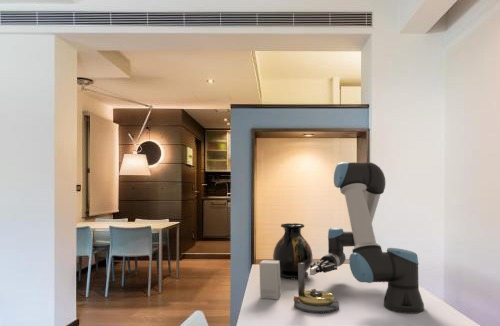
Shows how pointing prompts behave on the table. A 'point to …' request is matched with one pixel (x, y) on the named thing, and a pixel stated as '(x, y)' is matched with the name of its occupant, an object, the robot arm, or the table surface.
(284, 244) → the black vase
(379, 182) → the robot arm
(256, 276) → the table surface
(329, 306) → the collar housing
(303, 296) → the brass disc with post
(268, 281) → the skincare box
